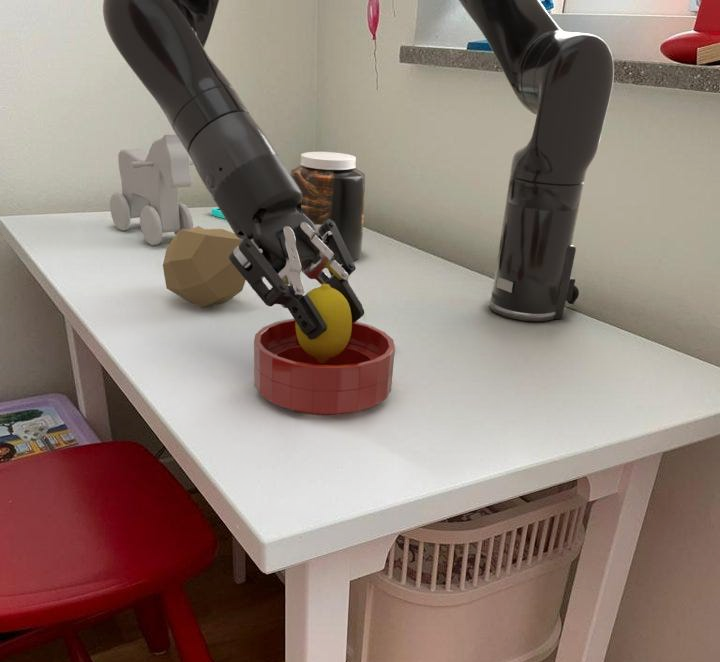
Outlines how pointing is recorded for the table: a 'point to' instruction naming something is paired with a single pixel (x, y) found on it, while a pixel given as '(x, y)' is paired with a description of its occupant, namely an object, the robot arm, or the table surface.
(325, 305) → the lemon
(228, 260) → the low-poly potato
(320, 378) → the bowl
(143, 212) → the pony
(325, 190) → the jar
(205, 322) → the table surface
